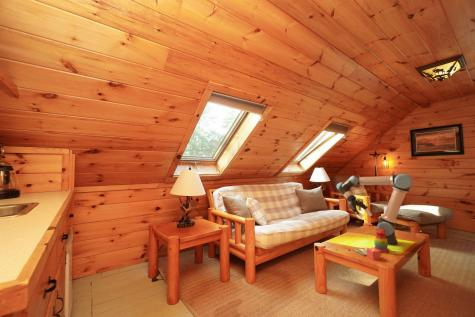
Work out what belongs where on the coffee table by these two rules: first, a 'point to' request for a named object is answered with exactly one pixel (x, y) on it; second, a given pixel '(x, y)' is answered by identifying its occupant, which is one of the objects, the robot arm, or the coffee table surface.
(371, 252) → the red die
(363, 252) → the game track
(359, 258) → the coffee table surface
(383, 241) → the stacking bear
